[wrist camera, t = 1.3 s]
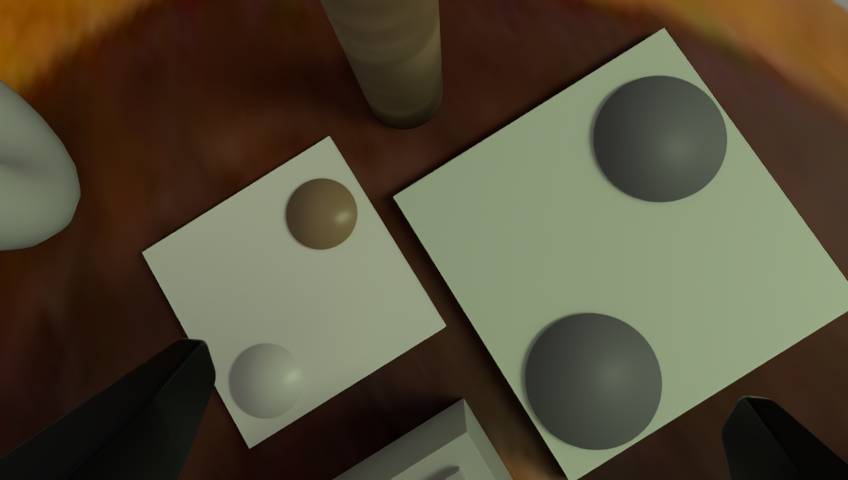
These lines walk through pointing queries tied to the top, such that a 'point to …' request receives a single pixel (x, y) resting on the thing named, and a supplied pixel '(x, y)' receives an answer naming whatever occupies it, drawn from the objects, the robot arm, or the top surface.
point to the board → (623, 253)
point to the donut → (32, 176)
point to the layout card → (293, 290)
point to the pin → (392, 55)
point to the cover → (436, 452)
